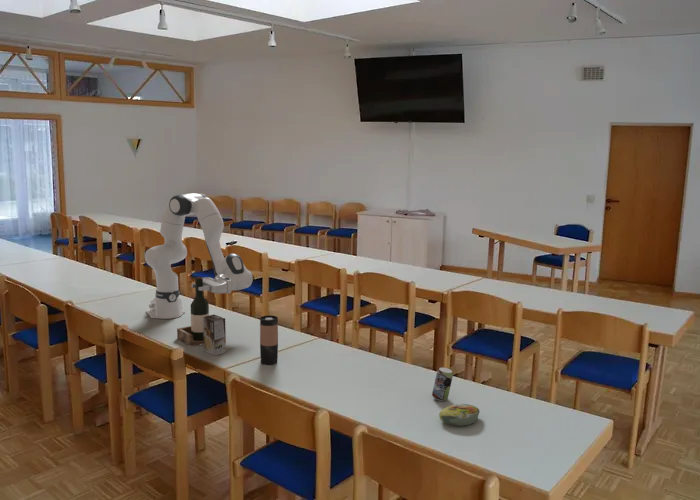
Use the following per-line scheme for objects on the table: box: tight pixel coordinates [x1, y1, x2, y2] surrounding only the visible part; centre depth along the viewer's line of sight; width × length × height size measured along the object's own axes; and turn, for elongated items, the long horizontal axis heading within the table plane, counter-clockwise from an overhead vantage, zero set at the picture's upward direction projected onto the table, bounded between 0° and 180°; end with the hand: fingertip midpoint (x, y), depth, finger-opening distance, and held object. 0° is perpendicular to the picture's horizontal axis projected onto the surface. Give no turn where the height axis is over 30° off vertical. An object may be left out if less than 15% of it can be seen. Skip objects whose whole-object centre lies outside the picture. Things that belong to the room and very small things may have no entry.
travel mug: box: [259, 315, 279, 366], centre depth 265 cm, size 8×8×20 cm
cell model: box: [438, 403, 481, 426], centre depth 214 cm, size 11×8×15 cm
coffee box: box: [203, 314, 227, 356], centre depth 277 cm, size 9×6×16 cm
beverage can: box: [431, 366, 454, 402], centre depth 231 cm, size 6×7×12 cm
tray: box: [176, 325, 204, 347], centre depth 294 cm, size 14×14×5 cm
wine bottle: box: [190, 276, 210, 341], centre depth 291 cm, size 8×8×30 cm
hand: (195, 287), depth 289 cm, fingers open, 5 cm apart
